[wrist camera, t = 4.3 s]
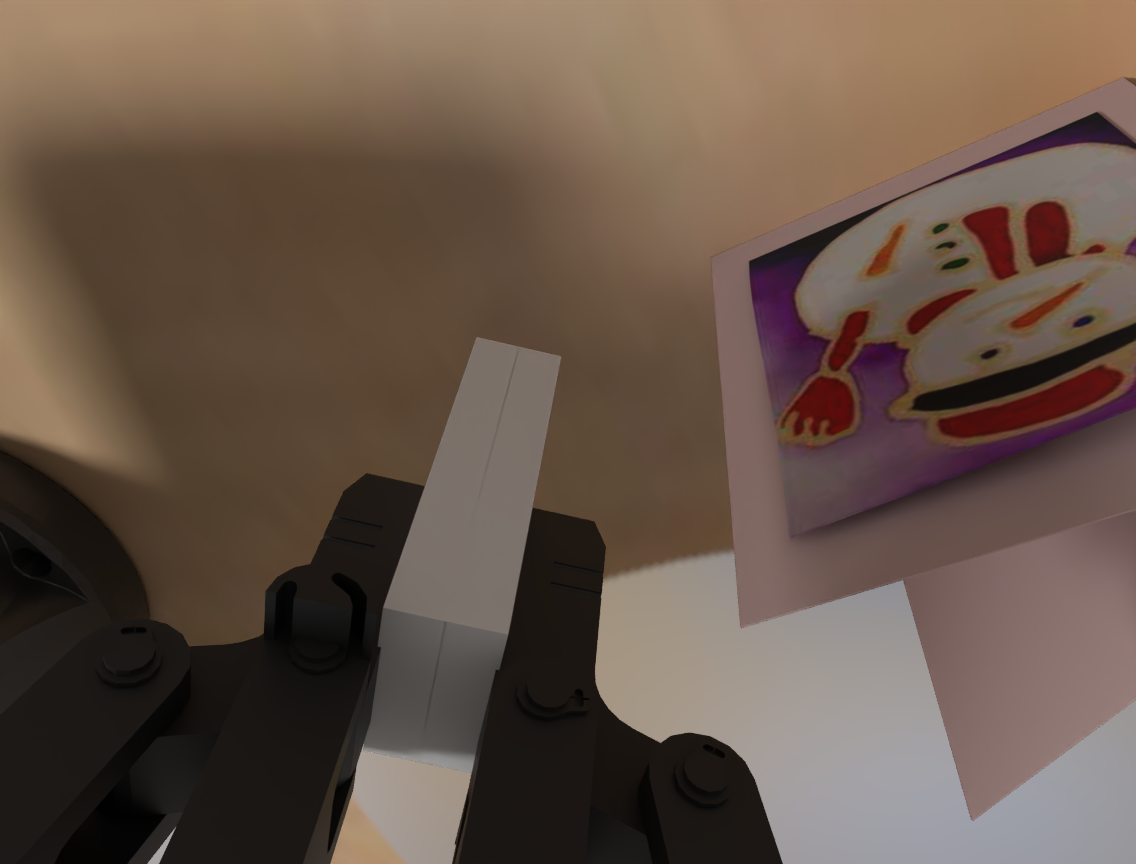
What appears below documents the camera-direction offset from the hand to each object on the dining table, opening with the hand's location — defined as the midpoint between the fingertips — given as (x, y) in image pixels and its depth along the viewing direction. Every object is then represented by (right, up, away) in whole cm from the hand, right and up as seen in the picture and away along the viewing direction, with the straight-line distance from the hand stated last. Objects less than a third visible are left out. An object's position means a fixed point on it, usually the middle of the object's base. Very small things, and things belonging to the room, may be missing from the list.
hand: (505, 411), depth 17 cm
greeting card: (+12, +5, +11) cm, 17 cm away
